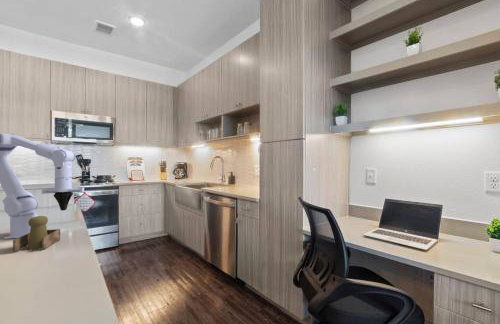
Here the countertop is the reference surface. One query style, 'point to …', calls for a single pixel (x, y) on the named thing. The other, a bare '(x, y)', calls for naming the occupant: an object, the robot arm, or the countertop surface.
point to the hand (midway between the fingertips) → (63, 209)
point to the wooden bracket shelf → (46, 241)
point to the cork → (37, 232)
